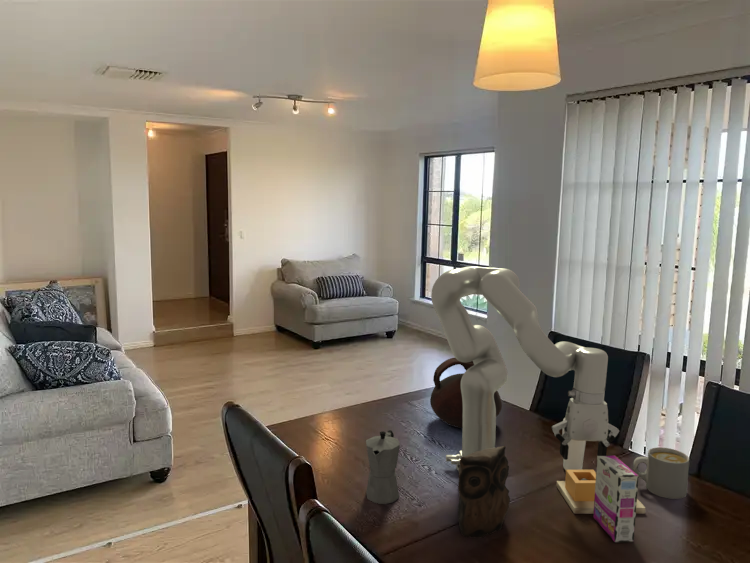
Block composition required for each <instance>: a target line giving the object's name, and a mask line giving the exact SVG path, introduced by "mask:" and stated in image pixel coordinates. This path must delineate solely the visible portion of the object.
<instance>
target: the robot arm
mask: <svg viewBox="0 0 750 563" xmlns="http://www.w3.org/2000/svg"><path fill="white" fill-rule="evenodd" d="M520 285H521V283H520V278H519V276H518V275H517V274H516V273H515V272H514V271H513V270H511V269H509V268H501V267H499V268H498V267H484V266H464V267H460V268H459V267H458V268H454V269H450V270H447V271H446V272H443V273H441V275H439V276H438V278H436V280H435V282H434V283H433V286H432V288H431V295H430V296H431V298H430V299H431V303H432V306H433V309H434V311H435V313H436V315H437V317H438V319H439V320H438V321H439V322H440V324H441V327H442V330H443V333H444V336H445V338H446V340H447V343H448V345H449V348H450V350H451V353H452V355H453V357H454V358H456V359H457V360H458V361H460V362H463V363H467V362H471V361H473V363H474V366H472V367H470V368H469V369H468V370H465V371H464V374H463V376H462V379H461V393H462V401H463V428H461V430H462V434H461V435H462V438H461V450H459V453H456V454H445V461H446V462H450V464H451V465H456V467H455V468H456V470H457V472H459V468H460V459H461V458H462V457H463V456H464V457H465V456H467V455H469V454H471V453H474V452H476V451H482V450H484V449H490V448H496V432H497V431H496V429H497V428H496V425H497V417H496V407H495V402H494V392H496V391H499V390H500V389H501V388H503V387H504V385H506V382H507V381H508V374H509V373H508V368H507V365H506V363H505V361H504V358H503V356H502V353H501V350H500V348H499V346H498V344H497V341H496V339H495V336H494V334H493V333H492V332H491V331H490V330H489V329H488V328H487V327H485V326H483V325H480V324H473V322H472V320H471V317H470V315H469V312H468V310H467V309H466V308H465V306H464V305H463V304H462V301H461V299H462V298H465V297H468V296H472V295H479V296H483V297H484V299H485V300H486V301H487V302H488V303H489V304H490V305H491V307H493V309H494V310H496V312H497V313H498V314H499V315H500V316H501V318H503V319H504V320H505V322H507V324H508V325H509V326H510V327H511V328H512V330H513V333H514V335H515V338H516V340H517V341H518V343H519V346H520V347H521V349H522V351H523V352H524V353H525V354H526V356H527V357H528V358H529V359H530V361H532V362H533V364H535V366H536V367H537V368H538V369H539V370H540V371H541V372H543V373H544V374H545V375H547V376H549V377H553V378H560V377H563V376H565V375H566V374H568V373H569V371H573V372H574V378H573V379H574V380H573V381H574V382H573V387H572V390H568V391H567V396H568V397H571V398H569V401H568V404H567V408H566V412H565V417H564V418H565V420H564V421H563V420H562V421H560V422H558V423H556V424H554V425H552V426H551V429H552V432H553V433H554V437H556V439H557V440H558V441H559V454H560V456H561V457H562V459H563V458H564V460H567V459H568V449H569V446H568V444H567V443H568V442H569V441H570V440H571V439H572V440H578V441H586V442H597V443H598V445H597V452H596V454H597V456H607V452H608V447H609V446H610V444H611V443H612V442H613V441H614V440H615V439H616V437H617V436H618V434H619V432H620V430H619V428H617V427H616V426H614V425H612V424H611V423H609V409H608V403H607V402H606V401H605V391H606V384H607V372H608V363H609V356H608V354H607V352H606V351H605V350H603V349H601V348H596V347H585V346H582V345H579V344H576V343H573V342H571V341H563V340H562V341H559V342H556V343H555V344H554V342H552V340H551V339H550V338H549V336H547V334H546V333H545V332H544V331H543V329H542V327H541V325H540V322H539V314H538V313H539V312H538V309H537V306H536V305H535V304H534V303H533V302H532V301H531V300H530V299H529V298H528V297H527V296H526V295H525V294H524V293H523V292H522V291H521V290H520ZM563 428H564V431H565V432H564V433H563V434H561V433H560V431H561V430H562V429H563ZM609 431H610V432H609ZM597 456H596V457H597Z"/></svg>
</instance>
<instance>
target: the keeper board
mask: <svg viewBox="0 0 750 563" xmlns="http://www.w3.org/2000/svg"><path fill="white" fill-rule="evenodd" d="M581 480H587V479H585V478H583V479H581ZM556 488H557V490H558V491H559V493H560V494H561V496H562V497H563V498H564V500H565V502H566V503H567V505H568V506H569V508H570V509H571V511H572V512H573V514H580V515H581V514H584V515H585V514H588V515H589V514H593V515H594V501H574V500H573V498H572V497H571V495H570V494H569V492H568V491H567V489H566V488H565V480H556ZM636 514H646V506H645V505H644V504H643V503H642V502H641V501H640V500H639V499H638V498H637V504H636Z"/></svg>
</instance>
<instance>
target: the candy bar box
mask: <svg viewBox="0 0 750 563" xmlns="http://www.w3.org/2000/svg"><path fill="white" fill-rule="evenodd" d="M595 468H596V470H595V472H596V484H595V499H594V514H593V519H594V520H595V521H596V522H597V523H598V524H599V526H600V527H601V528H602V529H603V530H604V532H605V533H606V534H607V535H608V536H609V537H610V538H611V540H612V541H613V542H614V543H633V542H634V541H635V528H636V516H637V513H636V504H637V499H638V491H639V489H638V488H639V476H638V475H637V474H636V473H635V472H634V470H633V469H631V468H630V467H629V466H628V465H627V464H625V463H624V462H623V461H622V460H621V459H620V458H618V456H616V455H606V456H596V467H595Z"/></svg>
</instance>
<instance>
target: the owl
mask: <svg viewBox="0 0 750 563" xmlns="http://www.w3.org/2000/svg"><path fill="white" fill-rule="evenodd" d="M505 451H506V446H505V445H502V446H498V447H495V448H490V449H484V450H482V451H476V452H474V453H471V454H469V455H467V456H465V457H464V456H463V457H462V458H461V459H460V468H459V471H458V485H457V486H458V487H457V488H458V496H459V497H458V498H459V499H458V505H457V508H458V509H457V519H458V527H459V532H460V534H461V535H462V536H463V537H465V538H472V539H476V538H477V539H481V538H484V537H485V536H487V535H490V536H491V535H492V534H493V533H496V532H500V531H501V529H503V523H504V522H505V518H506V516H507V513H508V510H509V506H510V502H511V498H510V495H509V493H510V490H509V489H508V487H506V482H507V478H508V477H509V472H510V470H509V469H510V466H509V460H508V459H507V456H506V454H505V453H506V452H505Z"/></svg>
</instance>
